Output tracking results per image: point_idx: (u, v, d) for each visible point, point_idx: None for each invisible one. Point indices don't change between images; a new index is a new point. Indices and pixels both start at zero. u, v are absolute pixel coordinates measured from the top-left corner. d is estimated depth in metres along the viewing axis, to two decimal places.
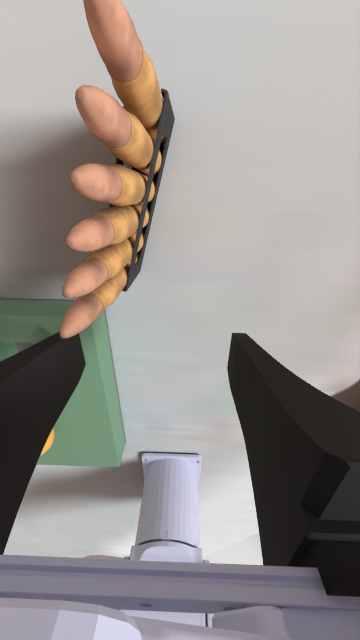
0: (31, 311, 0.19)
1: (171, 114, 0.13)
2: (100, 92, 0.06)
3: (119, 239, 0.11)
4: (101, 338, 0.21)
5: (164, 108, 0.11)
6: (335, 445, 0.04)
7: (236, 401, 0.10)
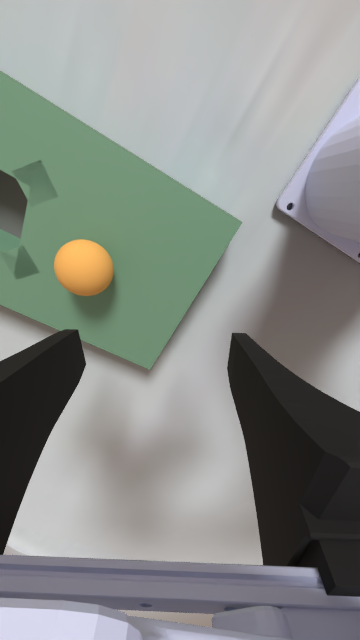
0: None
1: None
2: None
3: None
4: None
5: None
6: (335, 445, 0.04)
7: (236, 401, 0.10)
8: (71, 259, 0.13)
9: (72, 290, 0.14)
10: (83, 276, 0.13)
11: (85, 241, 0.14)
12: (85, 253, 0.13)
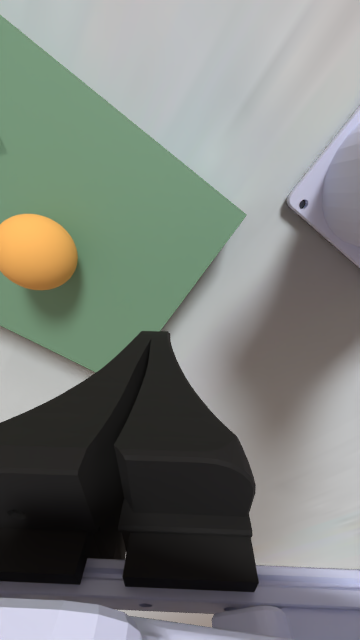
0: None
1: None
2: None
3: None
4: None
5: None
6: (132, 439, 0.04)
7: None
8: (12, 238, 0.09)
9: (15, 281, 0.10)
10: (29, 263, 0.10)
11: (38, 216, 0.10)
12: (34, 232, 0.10)
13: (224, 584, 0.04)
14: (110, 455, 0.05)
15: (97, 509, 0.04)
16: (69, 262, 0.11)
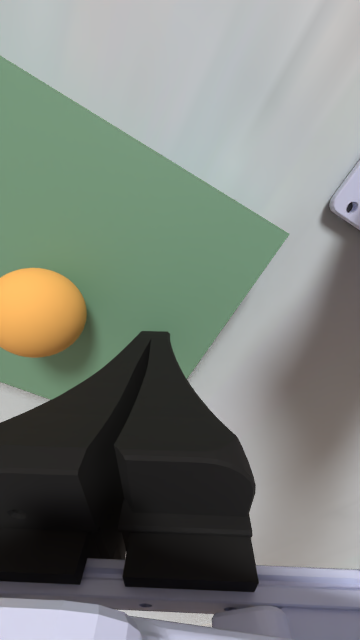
0: None
1: None
2: None
3: None
4: None
5: None
6: (133, 440, 0.04)
7: None
8: (4, 307, 0.07)
9: (14, 353, 0.08)
10: (28, 334, 0.08)
11: (33, 272, 0.08)
12: (30, 295, 0.08)
13: (224, 584, 0.04)
14: (110, 455, 0.05)
15: (97, 508, 0.04)
16: (77, 320, 0.09)
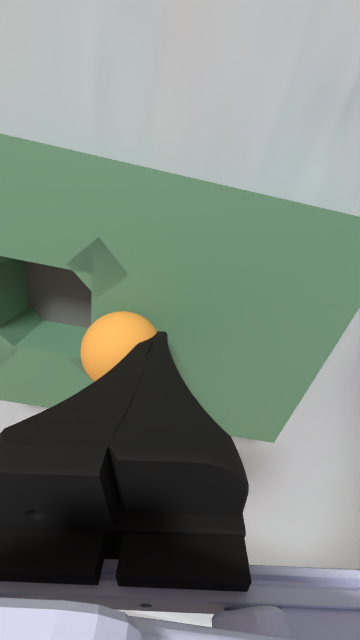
0: None
1: None
2: None
3: None
4: None
5: None
6: (125, 439, 0.04)
7: None
8: None
9: None
10: (81, 344, 0.10)
11: (123, 313, 0.10)
12: (98, 320, 0.10)
13: (217, 584, 0.04)
14: None
15: (115, 509, 0.04)
16: (99, 360, 0.09)
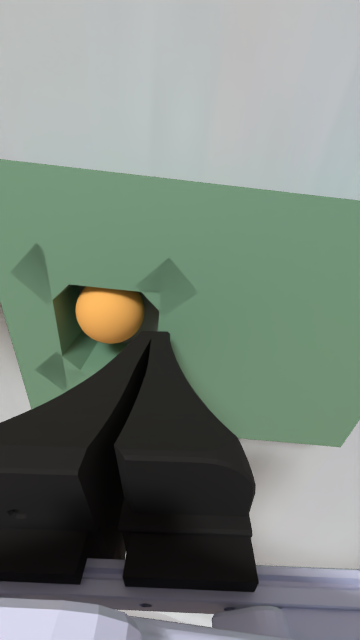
0: None
1: None
2: None
3: None
4: None
5: None
6: (132, 439, 0.04)
7: None
8: None
9: (123, 339, 0.12)
10: None
11: None
12: None
13: (224, 584, 0.04)
14: (110, 455, 0.05)
15: (97, 508, 0.04)
16: None
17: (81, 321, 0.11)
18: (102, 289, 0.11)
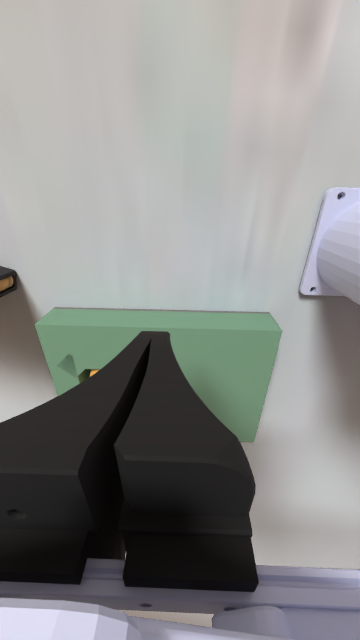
0: None
1: None
2: None
3: None
4: (77, 316, 0.20)
5: None
6: (132, 439, 0.04)
7: None
8: None
9: None
10: None
11: None
12: None
13: (224, 584, 0.04)
14: (110, 455, 0.05)
15: (97, 508, 0.04)
16: None
17: None
18: None
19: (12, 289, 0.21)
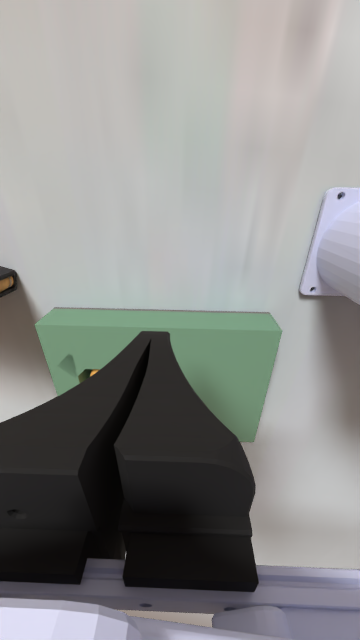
0: None
1: None
2: None
3: None
4: (77, 316, 0.20)
5: None
6: (132, 440, 0.04)
7: None
8: None
9: None
10: None
11: None
12: None
13: (224, 584, 0.04)
14: (110, 455, 0.05)
15: (97, 509, 0.04)
16: None
17: None
18: None
19: (12, 289, 0.21)
